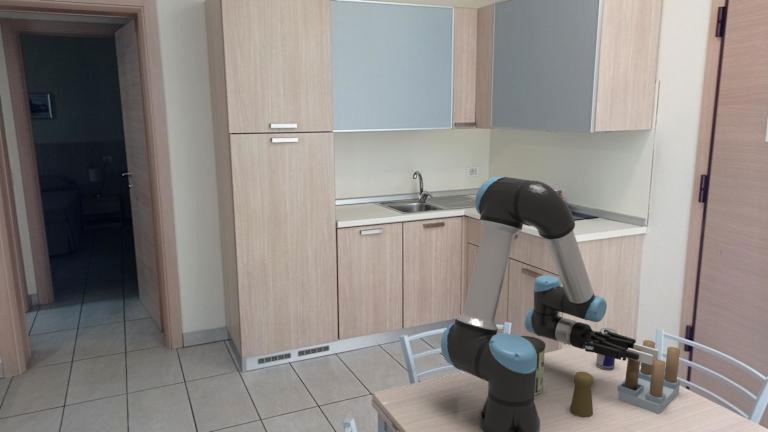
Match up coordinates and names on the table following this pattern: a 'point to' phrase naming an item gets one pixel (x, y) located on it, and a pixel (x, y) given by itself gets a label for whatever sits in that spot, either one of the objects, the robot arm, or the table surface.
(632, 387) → the stool leg
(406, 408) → the table surface
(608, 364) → the energy drink
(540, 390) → the coffee can
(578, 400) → the cork
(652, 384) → the stool seat
